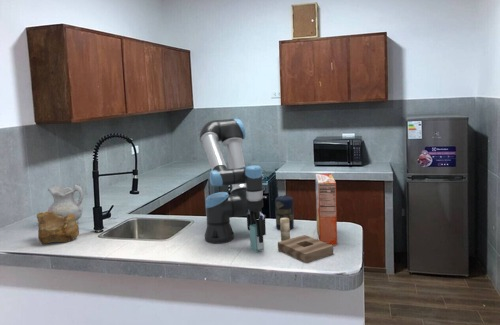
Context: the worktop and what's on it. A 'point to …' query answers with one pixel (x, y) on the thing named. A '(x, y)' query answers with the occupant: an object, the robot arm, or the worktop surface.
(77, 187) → the ceramic pitcher
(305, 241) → the socket block
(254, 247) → the square peg
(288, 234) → the round dowel
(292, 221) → the canister
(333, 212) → the pasta box
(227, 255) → the worktop surface
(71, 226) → the rough brown rock
